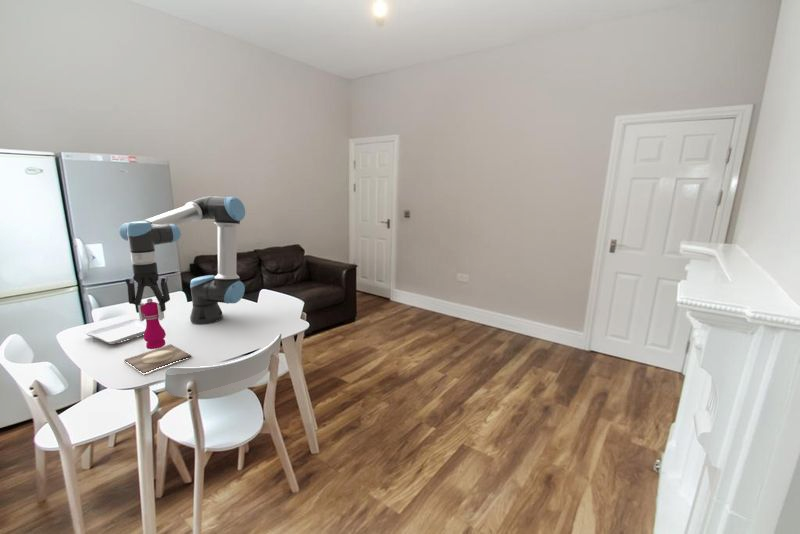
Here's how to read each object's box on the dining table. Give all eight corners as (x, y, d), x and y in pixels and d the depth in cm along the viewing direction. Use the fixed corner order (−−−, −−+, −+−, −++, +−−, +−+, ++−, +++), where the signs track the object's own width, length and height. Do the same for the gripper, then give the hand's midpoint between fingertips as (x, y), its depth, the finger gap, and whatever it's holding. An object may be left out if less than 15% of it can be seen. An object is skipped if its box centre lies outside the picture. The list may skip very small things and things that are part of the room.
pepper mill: (150, 351, 135) (143, 302, 131) (141, 346, 139) (134, 299, 134) (170, 344, 141) (164, 298, 137) (161, 340, 145) (155, 294, 140)
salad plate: (136, 323, 177) (135, 317, 177) (161, 332, 168) (160, 325, 168) (85, 339, 159) (83, 332, 158) (110, 349, 150) (109, 342, 149)
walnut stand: (124, 362, 139) (124, 358, 139) (171, 346, 153) (170, 343, 153) (143, 375, 130) (143, 371, 130) (191, 357, 144) (190, 354, 144)
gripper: (110, 265, 127) (119, 324, 132) (167, 264, 131) (175, 321, 136) (121, 260, 134) (130, 317, 139) (176, 260, 138) (182, 314, 143)
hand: (152, 319), depth 137 cm, fingers closed on pepper mill, 6 cm apart
